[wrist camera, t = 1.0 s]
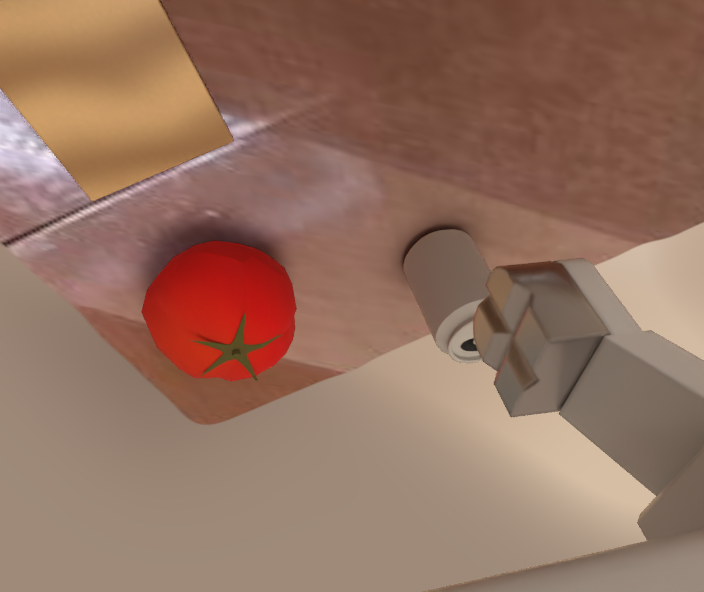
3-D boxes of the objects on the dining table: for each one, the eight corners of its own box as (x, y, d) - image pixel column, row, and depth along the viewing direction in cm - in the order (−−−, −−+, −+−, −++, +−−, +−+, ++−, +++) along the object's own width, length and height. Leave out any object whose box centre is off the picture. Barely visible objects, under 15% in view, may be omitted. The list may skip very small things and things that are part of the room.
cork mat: (-119, -63, 36) (-121, -61, 36) (78, -153, 35) (77, -151, 35) (92, 197, 51) (92, 201, 50) (233, 138, 50) (234, 141, 50)
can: (390, 279, 66) (429, 371, 58) (415, 220, 61) (462, 312, 53) (455, 281, 69) (500, 369, 61) (483, 225, 64) (537, 313, 56)
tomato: (310, 278, 63) (336, 362, 56) (206, 338, 65) (218, 426, 58) (230, 189, 53) (248, 277, 46) (111, 263, 56) (111, 357, 48)
